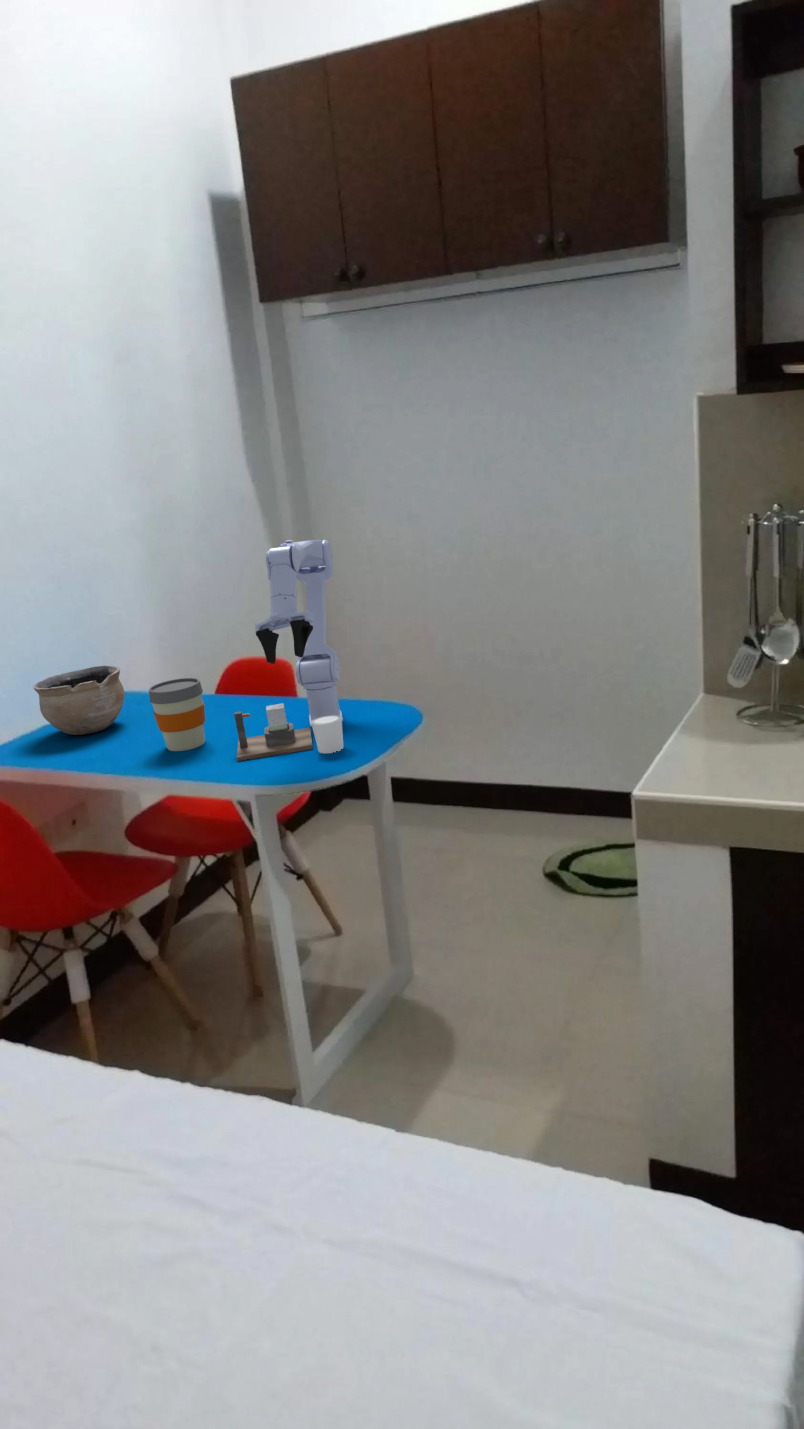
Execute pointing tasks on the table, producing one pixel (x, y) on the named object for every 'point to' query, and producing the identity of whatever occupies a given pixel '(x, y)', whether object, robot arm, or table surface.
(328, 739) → the shot glass
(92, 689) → the ceramic bowl
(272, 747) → the stand
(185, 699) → the reusable coffee cup
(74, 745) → the table surface
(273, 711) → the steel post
